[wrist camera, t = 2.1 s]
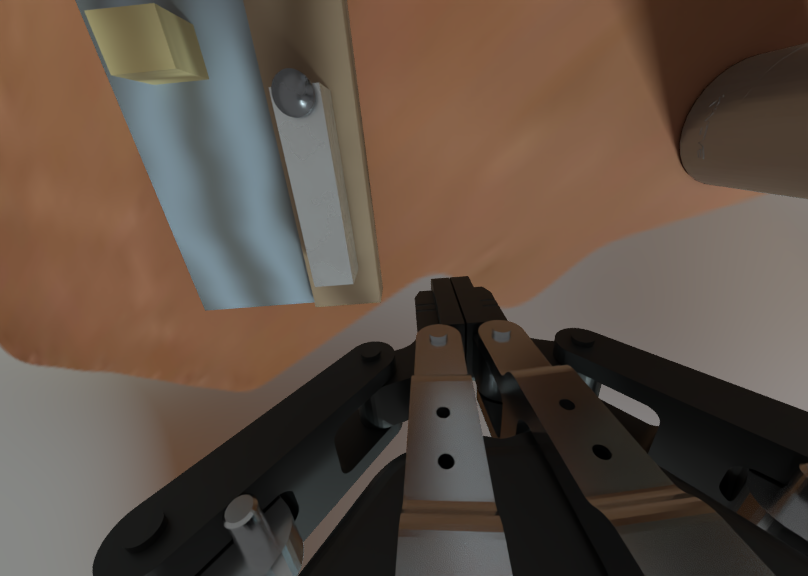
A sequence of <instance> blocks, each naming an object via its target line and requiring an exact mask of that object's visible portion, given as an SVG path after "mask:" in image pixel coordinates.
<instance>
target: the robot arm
mask: <svg viewBox="0 0 808 576" xmlns="http://www.w3.org/2000/svg"><path fill="white" fill-rule="evenodd" d="M680 156H681V160H682V163H683V166H684V168H685V169H686V171H687V172H688V174H689V175H690V176H691V177H693V178H694V179H695V180H697V181H699V182H701V183H704V184H709V185H715V186H722V187H729V188H736V189H742V190H749V191H755V192H761V193H768V194H775V195H782V196H789V197H796V198H803V199H808V43H805V44H801V45H796V46H792V47H788V48H784V49H780V50H776V51H772V52H768V53H763V54H760V55H756V56H753V57H750V58H747V59H745V60H743V61H741V62H739V63H737V64H735V65H733V66H731V67H730V68H729V69H727V70H726V71H725V72H723V73H722V74H721V75H719V76H718V77H717V78H716V79H715V80H714V81H713V82H712V83H711V84H710V85H709V86H708V87H707V88H706V89H705V90H704V91H703V93H702V94H701V95H700V97H699V98H698V99H697V101H696V102H695V104H694V105H693V107H692V109H691V111H690V112H689V114H688V116H687V119H686V121H685V124H684V127H683V130H682V135H681V140H680ZM415 305H416V306H415V307H416V320H417V335H416V340H415V341H414V342H413V343H412V344H411V345H409V346H407V347H405V348H403V349H399V350H396V351H394V349H393V348H392V347H391V346H390V345H388V344H386V343H383V342H368V343H364V344H361V345H359V346H357V347H355V348H354V349H353V350H351V351H350V352H349V353H347V354H346V355H344V356H343V357H342V358H340V359H339V360H338V361H336V362H335V363H334V364H332V365H331V366H329V367H328V368H327V369H325V370H324V371H322V372H321V373H320V374H318V375H317V376H316V377H314V378H313V379H311V380H310V381H309V382H307V383H306V384H305V385H303V386H302V387H300V388H299V389H298V390H296V391H295V392H294V393H292V394H291V395H289V396H288V397H287V398H285V399H284V400H283V401H281V402H280V403H279V404H277V405H276V406H274V407H273V408H272V409H270V410H269V411H267V412H266V413H265V414H263V415H262V416H261V417H259V418H258V419H256V420H255V421H254V422H252V423H251V424H250V425H248V426H247V427H245V428H244V429H243V430H241V431H240V432H239V433H237V434H236V435H234V436H233V437H232V438H230V439H229V440H228V441H226V442H225V443H223V444H222V445H221V446H219V447H218V448H217V449H215V450H214V451H212V452H211V453H210V454H209V455H207V456H206V457H204V458H203V459H202V460H200V461H199V462H197V463H196V464H195V465H193V466H192V467H190V468H189V469H188V470H186V471H185V472H184V473H182V474H181V475H179V476H178V477H177V478H176V479H174V480H173V481H171V482H170V483H169V484H167V485H166V486H164V487H163V488H162V489H160V490H159V491H157V493H155V494H153V495H152V496H151V497H149V498H148V499H147V500H145V501H144V502H142V503H141V504H140V505H138V506H137V507H136V508H134V509H133V510H132V511H130V512H129V513H128V514H127V515H126V516H125V517H124V518H122V519H121V520H120V521H119V522H118V524H116V526H115V527H114V528H113V529H112V530H111V531H110V533H109V534H108V535H107V537H106V538H105V539H104V541H103V542H102V544H101V546H100V548H99V550H98V552H97V554H96V557H95V559H94V563H93V576H297V575H298V574H299V571H300V568H301V566H302V561H303V556H304V545H303V542H304V541H305V539H306V538H307V537H308V536H309V535H310V534H311V533H312V531H313V530H314V529H315V528H316V527H317V526H318V525H319V523H320V522H321V521H322V520H323V519H324V518H325V516H326V515H327V514H328V513H329V512H330V511H331V510H332V508H333V507H334V506H335V505H336V504H337V503H338V502H339V500H340V499H341V498H342V497H343V496H344V495H345V493H346V492H347V491H348V490H349V489H350V488H351V486H352V485H353V484H354V483H355V482H356V481H357V480H358V478H359V477H360V476H361V475H362V474H363V473H364V472H365V470H366V469H367V468H368V467H369V466H370V465H371V463H372V462H373V461H374V460H375V459H376V458H377V457H378V455H379V454H380V453H381V452H382V451H383V450H384V448H385V447H386V446H387V445H388V444H389V443H390V442H391V440H392V439H393V438H394V437H395V436H396V435H397V434H398V432H399V430H400V429H401V427H402V422H404V421H407V420H408V435H407V451H406V453H404V454H402V455H400V456H398V457H397V458H395V459H394V460H392V461H391V462H390V463H388V464H387V465H386V466H385V467H384V468H383V469H382V470H381V471H380V472H379V473H378V474H377V475H376V476H375V477H374V478H373V480H372V481H371V482H370V483H369V485H368V486H367V487H366V489H365V490H364V491H363V492H362V494H361V495H360V496H359V498H358V499H357V500H356V501H355V503H354V504H353V506H352V507H351V508H350V509H349V511H348V512H347V513H346V514H345V516H344V517H343V519H342V520H341V521H340V522H339V523H338V525H337V526H336V527H335V529H334V530H333V531H332V533H331V534H330V535H329V536H328V538H327V539H326V540H325V542H324V543H323V544H322V545H321V547H320V548H319V549H318V551H317V552H316V553H315V554H314V556H313V557H312V558H311V560H310V561H309V562H308V564H307V565H306V566H305V567H304V569H303V570H302V571H301V573H300V574H299V575H298V576H808V412H806V411H804V410H801V409H798V408H796V407H793V406H791V405H788V404H785V403H783V402H780V401H777V400H774V399H772V398H769V397H767V396H763V395H761V394H758V393H755V392H753V391H750V390H748V389H745V388H742V387H740V386H737V385H734V384H732V383H729V382H726V381H724V380H721V379H718V378H716V377H713V376H710V375H707V374H705V373H702V372H699V371H697V370H694V369H691V368H689V367H686V366H683V365H681V364H678V363H675V362H673V361H670V360H667V359H664V358H662V357H659V356H657V355H654V354H651V353H649V352H646V351H643V350H640V349H637V348H635V347H632V346H630V345H627V344H624V343H622V342H619V341H616V340H614V339H611V338H608V337H606V336H603V335H600V334H598V333H595V332H592V331H589V330H585V329H579V328H567V329H563V330H560V331H559V332H557V333H556V335H555V341H547V340H539V339H533V338H530V337H529V336H528V335H527V334H526V332H525V331H524V330H523V329H522V328H521V327H520V326H519V325H517V324H515V323H512V322H509V321H507V319H506V317H505V316H504V314H503V312H502V310H501V309H500V307H499V306H498V304H497V302H496V300H495V299H494V297H493V295H492V293H491V292H490V291H488V290H487V289H485V288H483V287H473V285H472V283H471V281H470V279H469V277H468V276H463V277H450V279H449V278H438V279H431V291H420V292H419V293H418V294H417V296H416V297H415ZM472 381H475V382H476V385H477V393H476V398H477V401H478V404H479V406H480V409H481V412H482V414H483V417H484V419H485V422H486V424H487V427H488V429H489V432H490V435H491V437H487V436H482V430H481V424H480V419H479V414H478V409H477V403H476V398H475V392H474V388H473V382H472ZM601 384H603V385H605V386H607V387H610V388H612V389H614V390H616V391H618V392H620V393H622V394H624V395H626V396H628V397H630V398H633V399H635V400H637V401H639V402H641V403H643V404H645V405H647V406H649V407H650V408H651V409H653V410H654V411H655V412H656V414H657V415H658V417H659V419H660V425H659V426H653V425H649V424H647V423H645V422H643V421H641V420H640V419H638V418H636V417H634V416H632V415H630V414H628V413H626V412H624V411H622V410H620V409H618V408H616V407H614V406H612V405H610V404H608V403H606V402H605V401H603V400H601V399H599V398H598V396H599V392H600V388H601Z"/></svg>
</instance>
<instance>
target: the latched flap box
mask: <svg viewBox="0 0 808 576" xmlns="http://www.w3.org/2000/svg"><path fill="white" fill-rule="evenodd" d="M75 1H76V3H77V5H78V8H79V10H80V13H81V15H82V17H83V20H84V22H85V25H86V27H87V29H88V32H89V34H90V36H91V39H92V41H93V44H94V46H95V48H96V51H97V53H98V56H99V58H100V60H101V63H102V65H103V68H104V70H105V72H106V75H107V77H108V79H109V82H110V84H111V87H112V89H113V91H114V94H115V96H116V99H117V101H118V103H119V106H120V108H121V110H122V113H123V115H124V118H125V120H126V122H127V125H128V127H129V130H130V132H131V134H132V137H133V139H134V142H135V144H136V146H137V149H138V151H139V153H140V156H141V158H142V161H143V163H144V165H145V168H146V170H147V173H148V175H149V177H150V180H151V182H152V184H153V187H154V189H155V192H156V194H157V196H158V199H159V201H160V204H161V206H162V208H163V211H164V213H165V215H166V218H167V220H168V223H169V225H170V227H171V230H172V232H173V235H174V237H175V239H176V242H177V244H178V247H179V249H180V251H181V254H182V256H183V258H184V261H185V263H186V266H187V268H188V270H189V273H190V275H191V278H192V280H193V282H194V285H195V287H196V289H197V292H198V294H199V297H200V299H201V301H202V304H203V306H204V309H205V310H217V309H231V308H244V307H257V306H271V305H284V304H297V303H311V302H315V306H316V307H324V306H337V305H351V304H364V303H377V302H381V297H382V290H383V286H382V278H381V270H380V262H379V254H378V246H377V238H376V230H375V222H374V214H373V206H372V198H371V190H370V182H369V174H368V166H367V158H366V150H365V142H364V134H363V126H362V118H361V110H360V102H359V94H358V86H357V78H356V70H355V62H354V54H353V46H352V38H351V30H350V21H349V13H348V5H347V0H75ZM286 68H292V69H296V70H298V71H300V72H301V73H303V74H304V75H306V76H307V77H308V78H309V79H310V81H311V82H312V83H321V84H322V85H323V86H325V87H326V88H328V89H329V90H330V93H331V99H332V105H333V112H334V118H335V124H336V131H337V137H338V143H339V150H340V156H341V162H342V169H343V175H344V181H345V188H346V194H347V200H348V207H349V213H350V219H351V225H352V232H353V238H354V244H355V251H356V257H357V263H358V272H357V275H356V278H355V281H354V284H348V285H335V286H322V287H315V286H314V282H313V278H312V273H311V269H310V265H309V260H308V256H307V252H306V247H305V243H304V239H303V234H302V230H301V226H300V221H299V217H298V213H297V209H296V204H295V200H294V196H293V191H292V187H291V183H290V178H289V174H288V170H287V165H286V161H285V157H284V152H283V148H282V144H281V139H280V135H279V131H278V126H277V122H276V118H275V113H274V109H273V105H272V101H271V96H270V92H269V88H268V87H271V84H272V81H273V78H274V76H275V75H276V74H277V73H278V72H279V71H281V70H282V69H286Z"/></svg>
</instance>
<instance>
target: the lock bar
mask: <svg viewBox="0 0 808 576" xmlns="http://www.w3.org/2000/svg"><path fill="white" fill-rule="evenodd" d="M268 88H269V92H270V96H271V101H272V105H273V109H274V113H275V118H276V122H277V126H278V131H279V135H280V139H281V144H282V148H283V152H284V157H285V161H286V165H287V170H288V174H289V178H290V183H291V187H292V191H293V196H294V200H295V204H296V209H297V213H298V217H299V221H300V226H301V230H302V234H303V239H304V243H305V247H306V252H307V256H308V260H309V265H310V269H311V273H312V278H313V282H314V286H315V287H322V286H335V285H348V284H354V281H355V278H356V275H357V272H358V263H357V257H356V251H355V244H354V238H353V232H352V225H351V219H350V213H349V207H348V200H347V194H346V188H345V181H344V175H343V169H342V162H341V156H340V150H339V143H338V137H337V131H336V124H335V118H334V112H333V105H332V99H331V93H330V90H329V89H328V88H326V87H325V86H323V85H322V84H321V83H312V82H311V81H310V79H309V78H308V77H307V76H306V75H304V74H303V73H301V72H300V71H298V70H296V69H292V68H286V69H282V70H281V71H279V72H278V73H277V74H276V75H275V76H274V78H273V81H272V84H271V87H268Z"/></svg>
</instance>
